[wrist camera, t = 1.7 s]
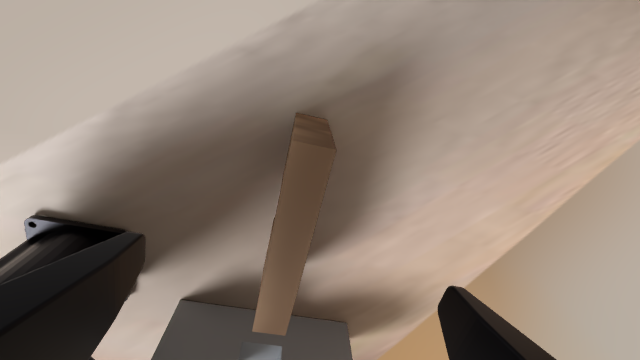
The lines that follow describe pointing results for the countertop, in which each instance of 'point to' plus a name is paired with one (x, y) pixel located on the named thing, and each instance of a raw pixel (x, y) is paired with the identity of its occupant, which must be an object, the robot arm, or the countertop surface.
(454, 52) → the countertop surface
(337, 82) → the countertop surface
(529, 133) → the countertop surface
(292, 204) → the cross plate
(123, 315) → the countertop surface
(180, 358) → the base plate
